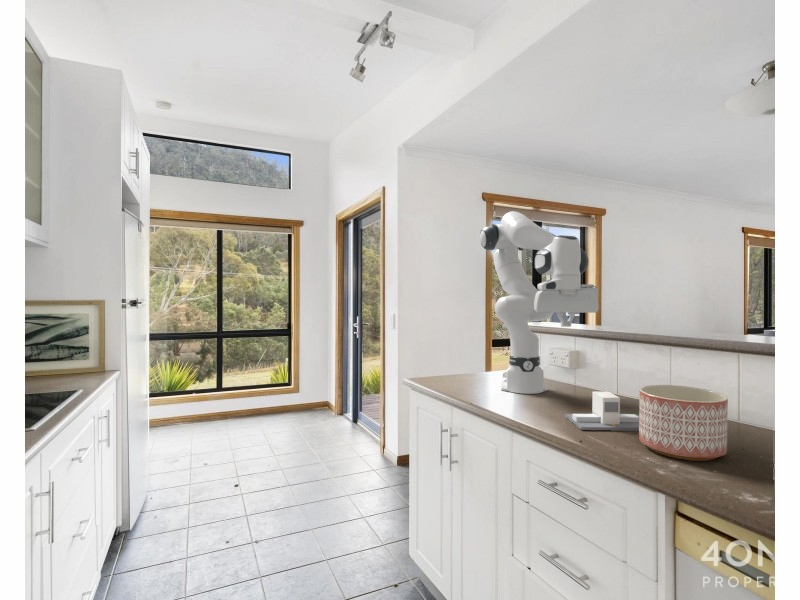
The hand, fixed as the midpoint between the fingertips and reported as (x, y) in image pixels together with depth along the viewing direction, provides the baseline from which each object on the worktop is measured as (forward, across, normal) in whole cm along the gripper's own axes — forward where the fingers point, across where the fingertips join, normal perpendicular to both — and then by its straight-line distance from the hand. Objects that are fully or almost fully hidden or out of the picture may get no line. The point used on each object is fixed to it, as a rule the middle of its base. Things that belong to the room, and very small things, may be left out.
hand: (565, 326), depth 148 cm
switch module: (+28, -9, +10) cm, 31 cm away
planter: (+29, -19, +32) cm, 47 cm away
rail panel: (+29, -9, +10) cm, 32 cm away
